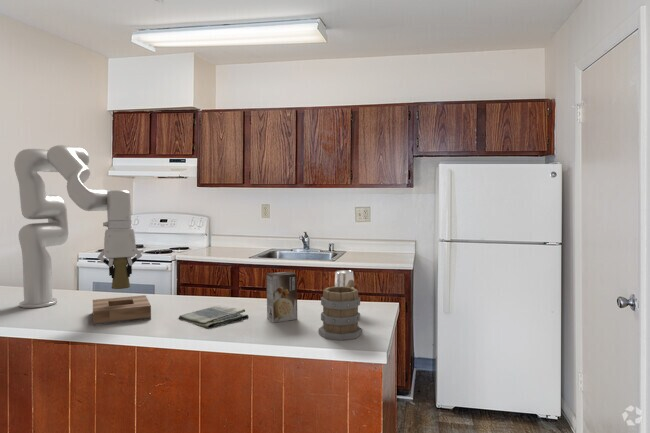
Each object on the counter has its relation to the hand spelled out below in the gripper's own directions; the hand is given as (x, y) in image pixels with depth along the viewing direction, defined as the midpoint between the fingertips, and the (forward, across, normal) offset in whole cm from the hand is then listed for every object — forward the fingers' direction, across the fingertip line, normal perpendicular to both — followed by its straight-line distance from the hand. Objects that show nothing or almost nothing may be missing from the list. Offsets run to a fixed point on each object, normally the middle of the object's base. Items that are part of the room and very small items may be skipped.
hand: (120, 276), depth 168 cm
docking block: (+14, 0, 0) cm, 14 cm away
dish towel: (+15, +29, -17) cm, 37 cm away
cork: (+4, 0, 0) cm, 4 cm away
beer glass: (+15, +74, -29) cm, 81 cm away
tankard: (+15, +63, -49) cm, 81 cm away
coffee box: (+15, +50, -28) cm, 59 cm away
